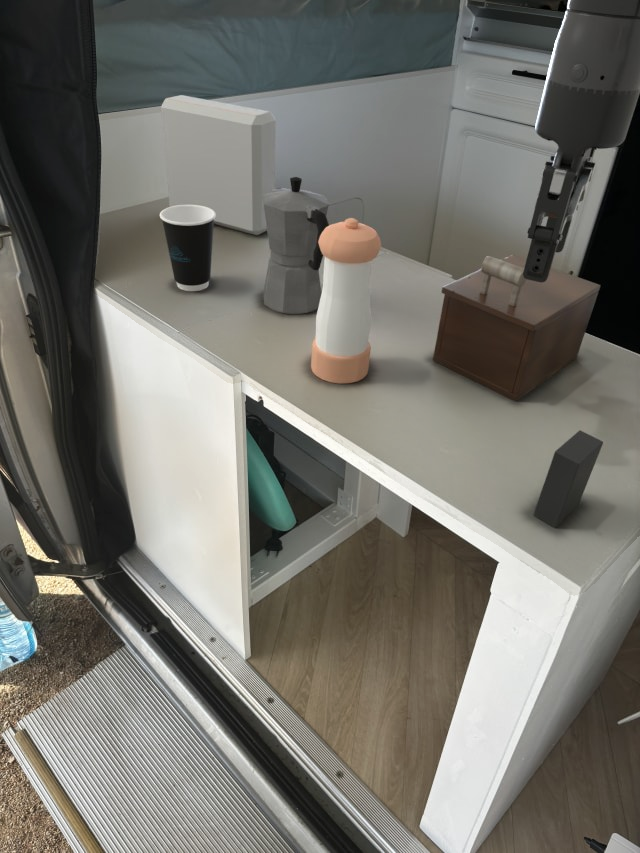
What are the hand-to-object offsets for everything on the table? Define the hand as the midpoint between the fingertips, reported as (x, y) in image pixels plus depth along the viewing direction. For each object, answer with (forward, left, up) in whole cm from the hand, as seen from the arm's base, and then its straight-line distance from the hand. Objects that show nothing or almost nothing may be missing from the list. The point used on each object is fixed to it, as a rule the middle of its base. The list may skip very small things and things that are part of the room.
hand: (543, 264), depth 64 cm
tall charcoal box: (-10, +10, -19) cm, 24 cm away
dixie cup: (+52, -4, -20) cm, 56 cm away
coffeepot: (+36, -9, -20) cm, 42 cm away
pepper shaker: (+21, +2, -20) cm, 29 cm away
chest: (+5, -14, -19) cm, 25 cm away
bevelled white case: (+67, -29, -20) cm, 76 cm away
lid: (+5, -14, -10) cm, 18 cm away
